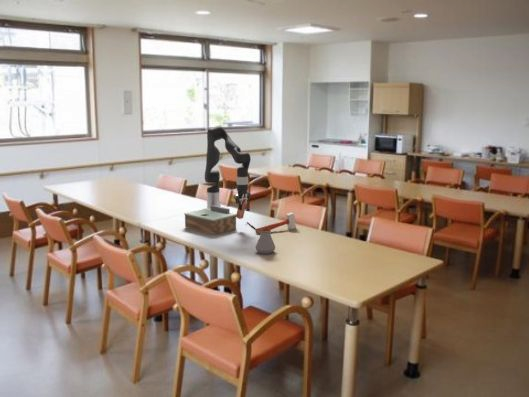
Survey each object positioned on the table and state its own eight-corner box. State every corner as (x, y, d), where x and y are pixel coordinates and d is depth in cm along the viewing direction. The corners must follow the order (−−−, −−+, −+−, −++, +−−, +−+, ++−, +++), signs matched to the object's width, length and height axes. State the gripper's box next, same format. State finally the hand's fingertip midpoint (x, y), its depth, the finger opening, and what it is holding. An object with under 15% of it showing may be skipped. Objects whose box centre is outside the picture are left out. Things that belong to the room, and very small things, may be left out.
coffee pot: (279, 252, 302) (279, 226, 299) (265, 256, 294) (265, 230, 291) (253, 244, 316) (253, 220, 313) (239, 248, 308) (239, 223, 305)
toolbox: (206, 222, 370) (206, 209, 368) (236, 229, 352) (236, 215, 350) (185, 227, 355) (184, 214, 353) (214, 235, 337) (214, 221, 335)
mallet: (257, 225, 337) (294, 213, 352) (254, 224, 340) (291, 212, 355) (259, 241, 340) (296, 228, 355) (256, 239, 343) (293, 226, 358)
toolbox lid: (207, 209, 368) (207, 204, 367) (236, 215, 350) (236, 209, 350) (184, 214, 352) (184, 208, 352) (213, 221, 335) (213, 215, 334)
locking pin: (239, 216, 350) (242, 199, 346) (243, 218, 348) (246, 201, 344) (235, 216, 348) (239, 200, 344) (239, 219, 346) (243, 202, 342)
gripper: (245, 181, 349) (245, 206, 353) (230, 184, 339) (230, 210, 342) (254, 182, 345) (254, 208, 348) (239, 185, 334) (239, 211, 337)
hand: (242, 209), depth 345 cm, fingers closed on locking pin, 3 cm apart
